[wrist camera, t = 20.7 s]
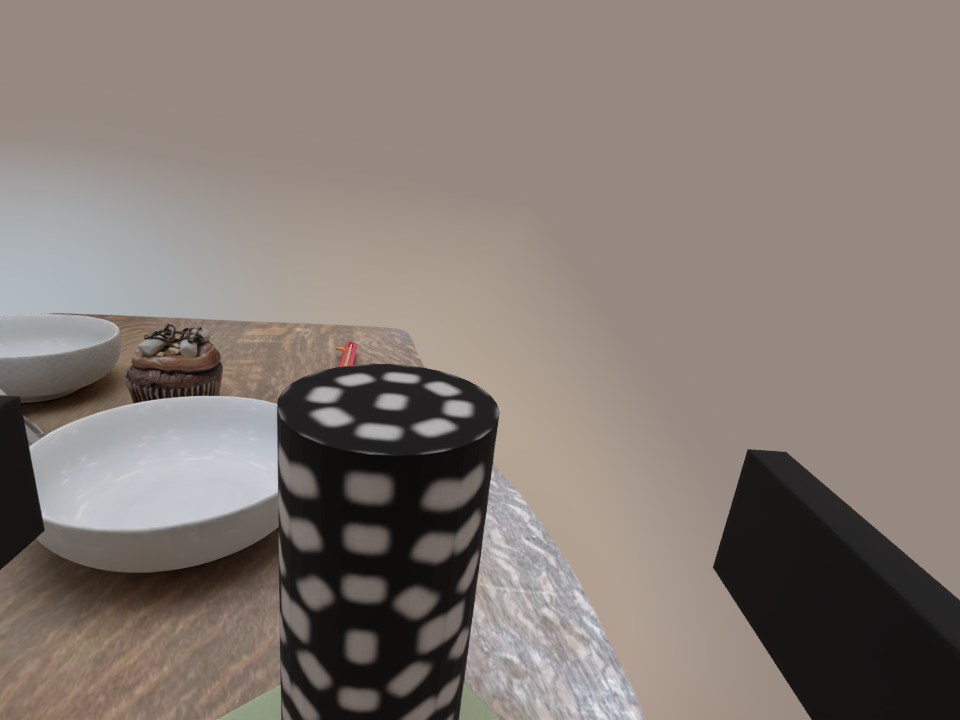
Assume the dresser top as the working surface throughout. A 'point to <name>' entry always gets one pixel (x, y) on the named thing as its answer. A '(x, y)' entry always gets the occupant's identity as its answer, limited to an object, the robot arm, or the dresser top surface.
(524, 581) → the dresser top surface
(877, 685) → the robot arm
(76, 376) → the cereal bowl
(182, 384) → the cupcake
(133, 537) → the serving bowl
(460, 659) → the spotted tube
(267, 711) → the mat
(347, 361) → the red grooved bar
